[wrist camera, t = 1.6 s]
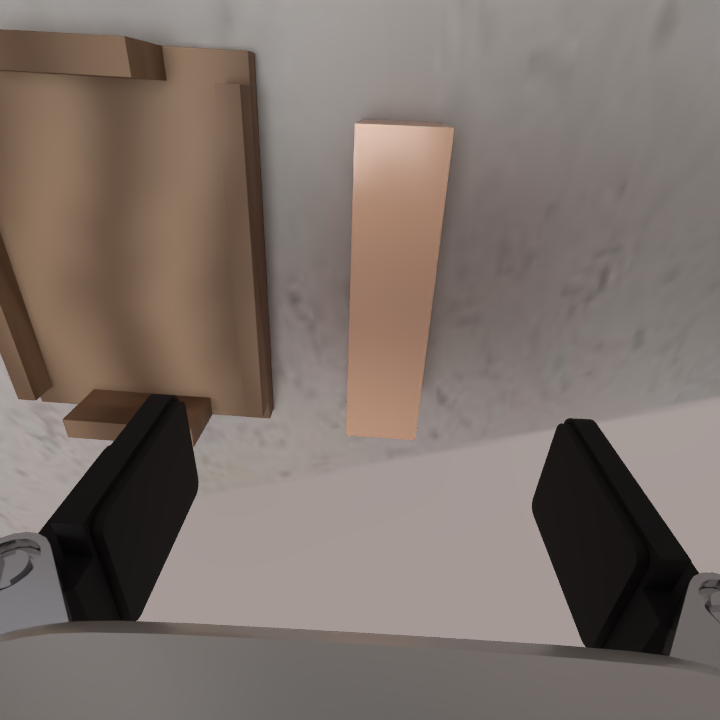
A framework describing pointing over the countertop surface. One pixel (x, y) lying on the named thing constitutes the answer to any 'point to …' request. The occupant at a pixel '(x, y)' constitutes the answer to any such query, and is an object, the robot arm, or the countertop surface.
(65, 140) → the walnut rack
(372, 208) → the clay block
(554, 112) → the countertop surface
